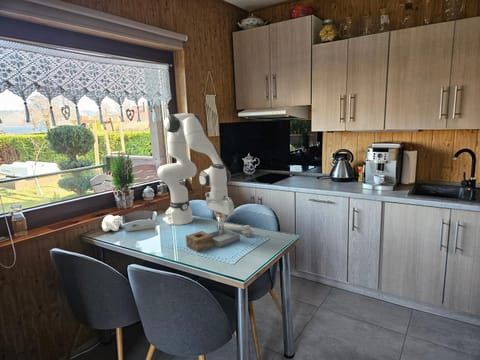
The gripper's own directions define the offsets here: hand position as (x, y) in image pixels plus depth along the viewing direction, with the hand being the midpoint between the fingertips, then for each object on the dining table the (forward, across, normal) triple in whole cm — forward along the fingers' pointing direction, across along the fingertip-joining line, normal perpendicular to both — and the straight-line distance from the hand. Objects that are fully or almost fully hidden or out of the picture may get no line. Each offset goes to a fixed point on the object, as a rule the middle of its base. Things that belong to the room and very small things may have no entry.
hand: (220, 219), depth 168 cm
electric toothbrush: (+12, +5, -13) cm, 19 cm away
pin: (+8, 0, 0) cm, 8 cm away
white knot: (+12, +65, +37) cm, 76 cm away
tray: (+12, 0, 0) cm, 12 cm away
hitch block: (+12, +2, +13) cm, 18 cm away
